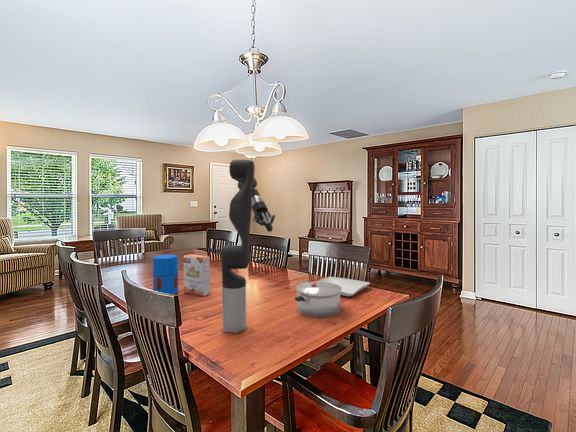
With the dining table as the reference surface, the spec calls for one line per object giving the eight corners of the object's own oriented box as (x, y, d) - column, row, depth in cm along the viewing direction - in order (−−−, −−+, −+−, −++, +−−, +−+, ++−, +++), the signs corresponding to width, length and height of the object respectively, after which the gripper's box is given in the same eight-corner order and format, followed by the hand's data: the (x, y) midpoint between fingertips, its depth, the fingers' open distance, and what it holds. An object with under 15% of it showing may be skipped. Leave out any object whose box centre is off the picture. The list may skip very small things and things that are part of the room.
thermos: (170, 314, 141) (169, 259, 139) (148, 313, 143) (147, 258, 141) (183, 306, 151) (182, 255, 150) (162, 305, 153) (161, 254, 152)
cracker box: (183, 293, 173) (182, 255, 172) (191, 290, 178) (191, 253, 177) (202, 297, 166) (202, 257, 165) (210, 294, 172) (210, 255, 171)
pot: (283, 308, 149) (283, 290, 148) (324, 298, 164) (324, 281, 163) (311, 322, 132) (311, 301, 132) (353, 309, 148) (353, 290, 147)
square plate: (370, 288, 185) (371, 281, 185) (352, 300, 162) (352, 293, 162) (329, 281, 200) (329, 275, 200) (307, 291, 178) (307, 285, 177)
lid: (286, 288, 150) (286, 283, 150) (319, 281, 163) (319, 277, 163) (316, 300, 133) (316, 295, 133) (351, 291, 145) (351, 286, 145)
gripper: (249, 200, 160) (262, 226, 151) (271, 200, 168) (284, 225, 159) (244, 210, 165) (256, 236, 156) (266, 210, 173) (278, 234, 163)
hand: (270, 230), depth 157 cm, fingers closed
